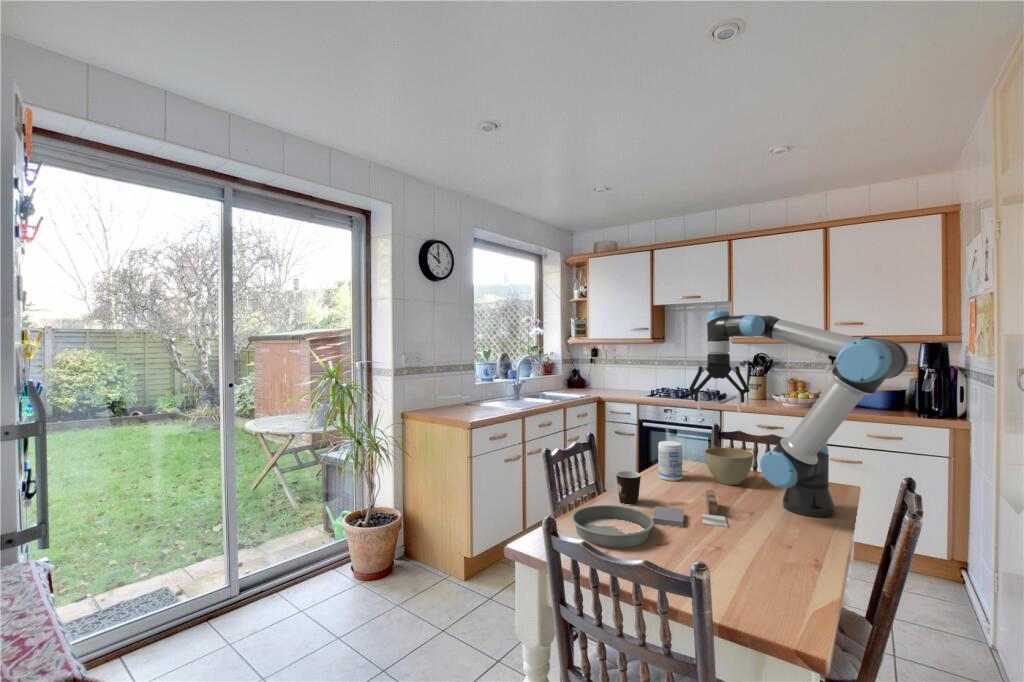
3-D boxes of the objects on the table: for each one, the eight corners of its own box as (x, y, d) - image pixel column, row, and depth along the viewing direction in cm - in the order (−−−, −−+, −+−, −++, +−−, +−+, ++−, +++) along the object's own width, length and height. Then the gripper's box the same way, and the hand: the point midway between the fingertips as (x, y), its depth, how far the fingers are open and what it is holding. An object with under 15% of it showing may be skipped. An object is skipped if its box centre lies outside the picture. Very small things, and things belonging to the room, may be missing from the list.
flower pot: (738, 475, 203) (738, 446, 203) (763, 488, 185) (762, 457, 185) (697, 476, 202) (696, 447, 202) (717, 489, 184) (717, 458, 184)
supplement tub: (672, 483, 193) (672, 446, 193) (653, 477, 201) (653, 442, 201) (687, 478, 199) (686, 443, 199) (667, 473, 207) (667, 439, 207)
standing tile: (655, 506, 162) (652, 518, 151) (683, 509, 158) (683, 521, 148) (655, 513, 162) (652, 525, 151) (683, 516, 159) (683, 529, 148)
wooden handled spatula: (699, 503, 169) (699, 489, 169) (721, 505, 167) (720, 491, 167) (703, 525, 150) (703, 509, 150) (727, 527, 148) (727, 511, 148)
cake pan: (669, 532, 145) (669, 517, 145) (624, 559, 128) (624, 542, 128) (602, 512, 163) (602, 498, 163) (554, 533, 146) (554, 518, 146)
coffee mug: (641, 506, 167) (641, 478, 167) (616, 505, 168) (616, 477, 168) (639, 496, 178) (639, 469, 178) (616, 494, 180) (615, 468, 180)
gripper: (754, 352, 175) (754, 410, 175) (682, 352, 183) (682, 408, 183) (758, 353, 168) (758, 413, 168) (682, 353, 176) (683, 411, 176)
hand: (718, 411), depth 176 cm, fingers open, 13 cm apart
